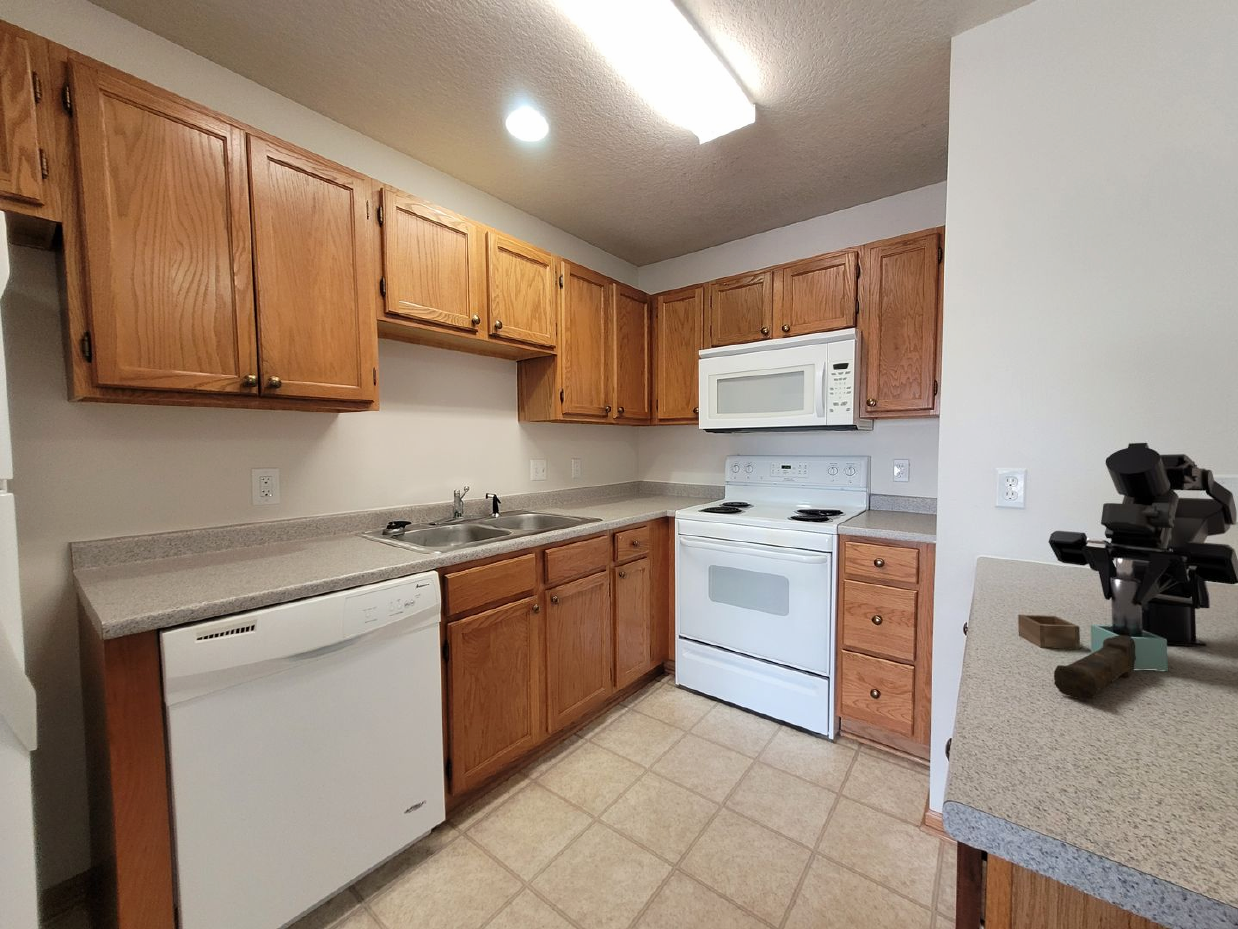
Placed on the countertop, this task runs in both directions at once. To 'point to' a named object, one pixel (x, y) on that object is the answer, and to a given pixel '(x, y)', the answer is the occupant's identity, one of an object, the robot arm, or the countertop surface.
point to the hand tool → (1097, 668)
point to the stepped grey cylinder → (1125, 600)
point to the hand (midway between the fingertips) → (1122, 601)
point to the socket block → (1049, 631)
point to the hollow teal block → (1136, 647)
